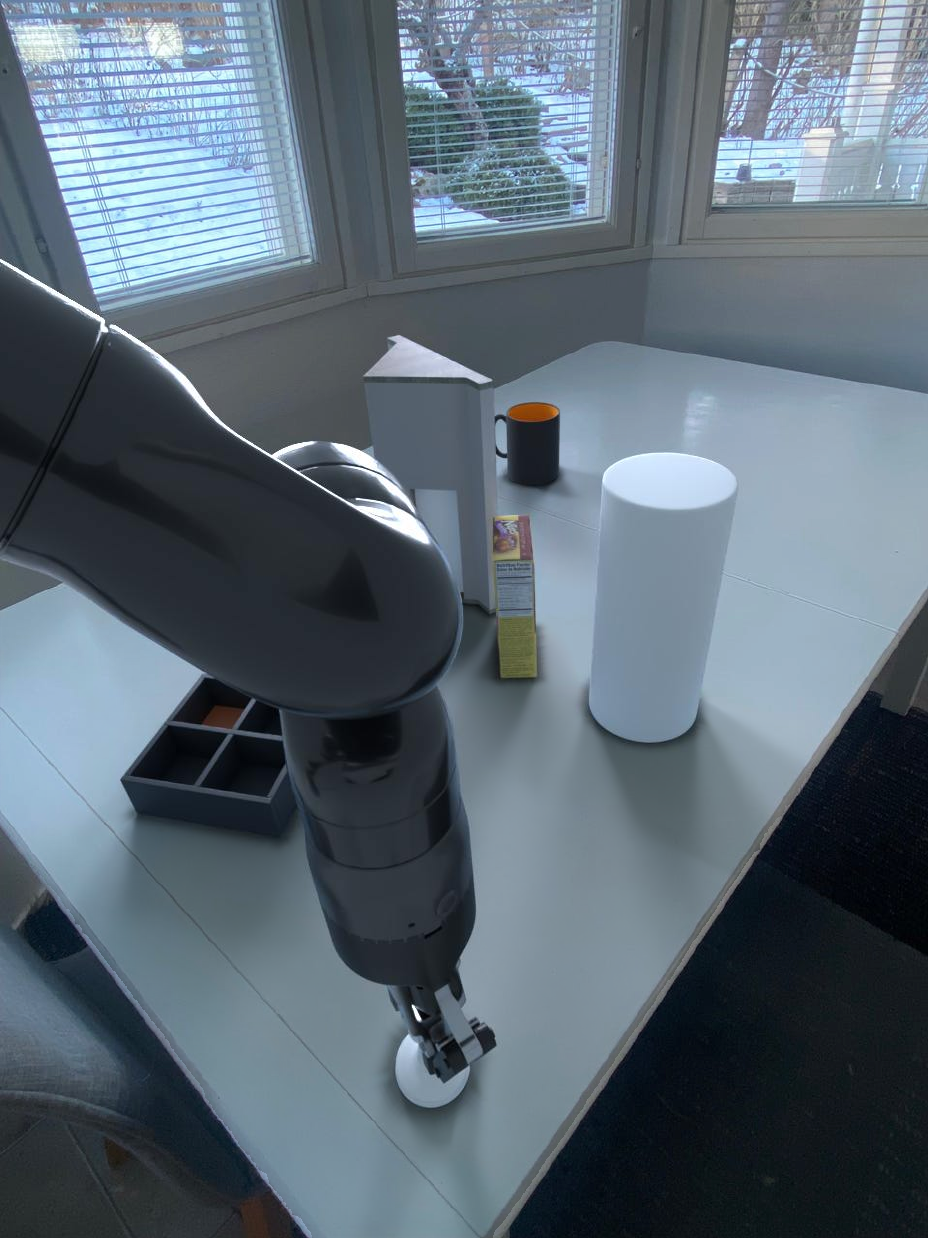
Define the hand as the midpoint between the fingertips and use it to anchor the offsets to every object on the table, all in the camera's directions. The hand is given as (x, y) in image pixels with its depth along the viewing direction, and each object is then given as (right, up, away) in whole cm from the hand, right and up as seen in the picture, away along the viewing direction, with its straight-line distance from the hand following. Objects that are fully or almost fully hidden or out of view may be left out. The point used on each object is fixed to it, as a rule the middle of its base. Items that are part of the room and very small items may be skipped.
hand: (425, 1029), depth 45 cm
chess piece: (0, -4, +3) cm, 5 cm away
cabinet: (-3, +30, +49) cm, 58 cm away
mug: (+12, +49, +74) cm, 90 cm away
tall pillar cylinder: (+20, +17, +29) cm, 39 cm away
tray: (-19, +11, +26) cm, 34 cm away
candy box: (+8, +21, +37) cm, 43 cm away
